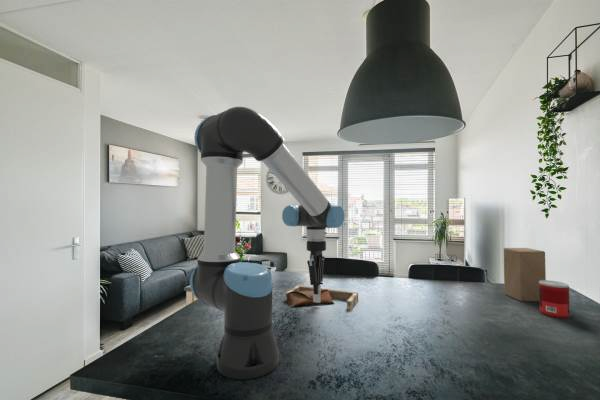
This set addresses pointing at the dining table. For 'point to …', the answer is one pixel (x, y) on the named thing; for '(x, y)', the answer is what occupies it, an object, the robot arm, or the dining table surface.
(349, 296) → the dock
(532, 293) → the wooden block
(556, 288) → the canned food
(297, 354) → the dining table surface
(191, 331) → the dining table surface
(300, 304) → the sunglasses case
